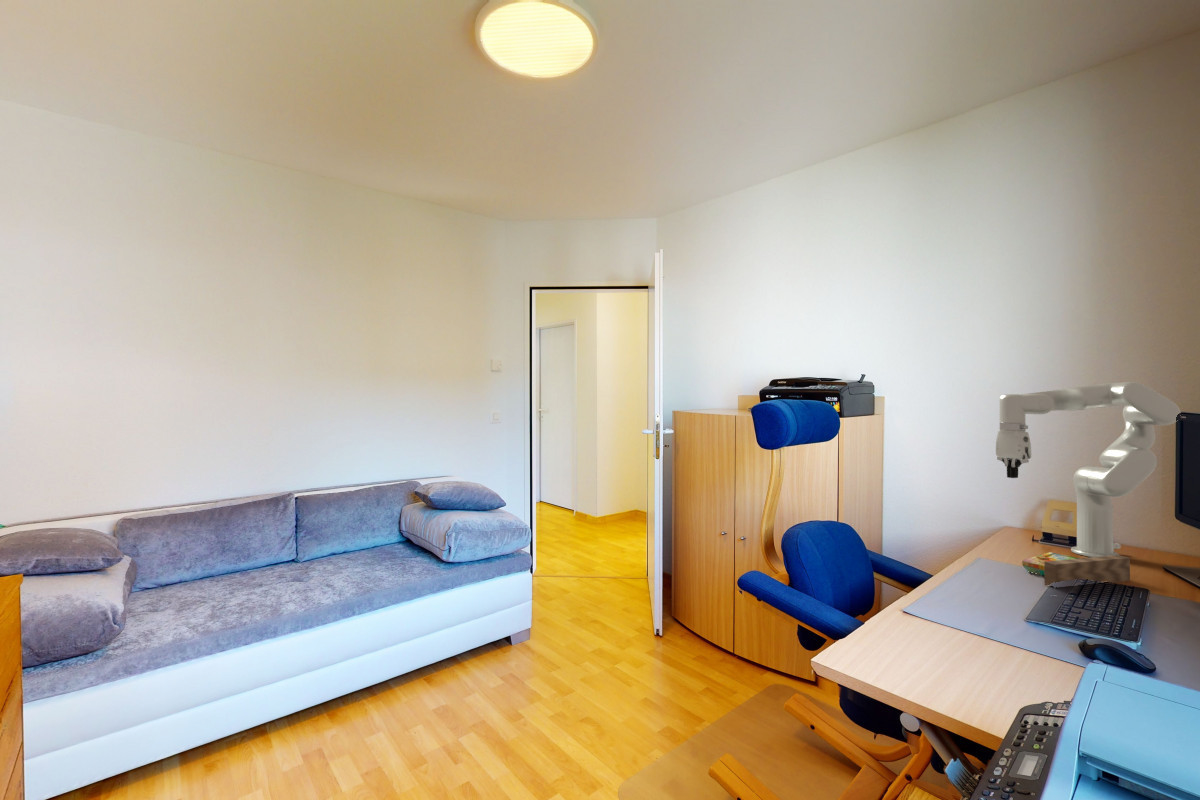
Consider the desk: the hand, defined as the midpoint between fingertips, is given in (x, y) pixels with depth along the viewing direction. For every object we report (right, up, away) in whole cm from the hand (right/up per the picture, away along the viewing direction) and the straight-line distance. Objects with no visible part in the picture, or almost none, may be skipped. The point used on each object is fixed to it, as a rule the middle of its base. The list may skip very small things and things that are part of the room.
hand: (1012, 477), depth 193 cm
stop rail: (-4, -27, -34) cm, 44 cm away
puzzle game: (-4, -28, -24) cm, 37 cm away
